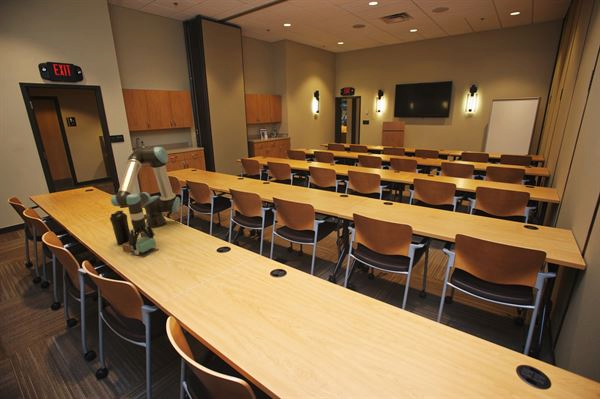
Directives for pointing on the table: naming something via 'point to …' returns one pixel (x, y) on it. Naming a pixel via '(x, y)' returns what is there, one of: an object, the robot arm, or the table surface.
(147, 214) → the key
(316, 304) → the table surface
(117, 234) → the water bottle
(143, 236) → the lock block
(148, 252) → the mat
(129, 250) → the case
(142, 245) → the cover
